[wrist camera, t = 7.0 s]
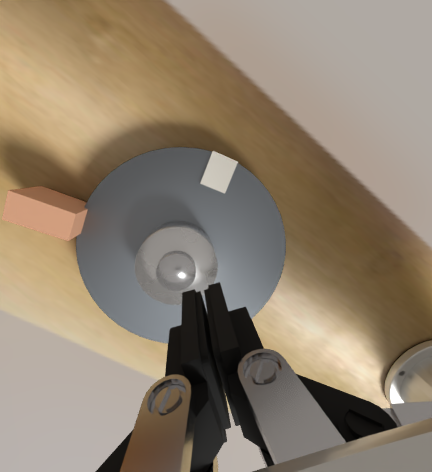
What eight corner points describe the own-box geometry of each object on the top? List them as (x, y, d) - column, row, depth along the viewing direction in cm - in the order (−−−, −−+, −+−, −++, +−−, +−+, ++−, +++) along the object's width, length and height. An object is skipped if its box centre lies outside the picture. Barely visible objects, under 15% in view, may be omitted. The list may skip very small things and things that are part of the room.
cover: (224, 234, 24) (231, 247, 20) (200, 297, 26) (202, 320, 22) (153, 210, 23) (146, 219, 19) (132, 277, 24) (121, 298, 21)
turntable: (311, 195, 26) (334, 201, 22) (234, 351, 30) (241, 381, 26) (65, 88, 21) (34, 69, 17) (16, 289, 26) (-19, 313, 21)
